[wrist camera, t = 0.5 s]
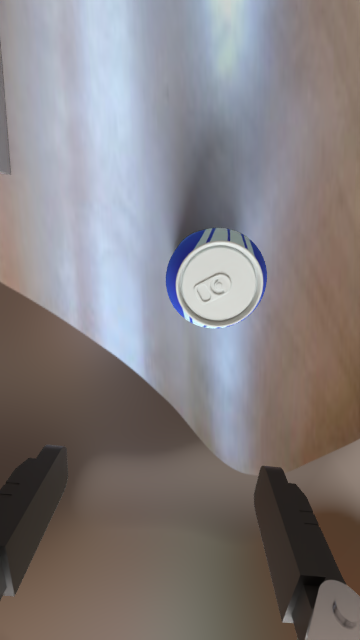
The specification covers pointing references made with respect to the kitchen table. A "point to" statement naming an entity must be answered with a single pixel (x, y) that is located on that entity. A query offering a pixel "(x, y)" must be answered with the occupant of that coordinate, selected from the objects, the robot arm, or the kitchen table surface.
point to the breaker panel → (3, 128)
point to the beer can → (216, 277)
